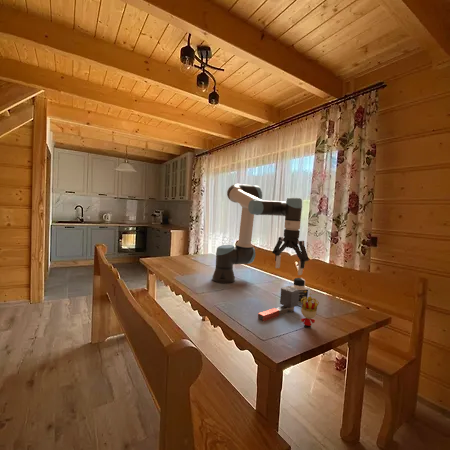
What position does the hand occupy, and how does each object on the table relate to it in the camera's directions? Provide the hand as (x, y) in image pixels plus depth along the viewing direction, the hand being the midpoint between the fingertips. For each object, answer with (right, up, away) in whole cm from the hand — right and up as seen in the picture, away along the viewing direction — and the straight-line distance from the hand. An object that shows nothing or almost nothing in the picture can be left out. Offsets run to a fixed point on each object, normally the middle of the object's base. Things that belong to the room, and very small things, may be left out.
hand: (288, 271), depth 130 cm
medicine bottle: (+9, -19, +15) cm, 26 cm away
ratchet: (-7, -19, -7) cm, 22 cm away
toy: (+4, -21, -18) cm, 28 cm away
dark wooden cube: (0, -16, -1) cm, 16 cm away
